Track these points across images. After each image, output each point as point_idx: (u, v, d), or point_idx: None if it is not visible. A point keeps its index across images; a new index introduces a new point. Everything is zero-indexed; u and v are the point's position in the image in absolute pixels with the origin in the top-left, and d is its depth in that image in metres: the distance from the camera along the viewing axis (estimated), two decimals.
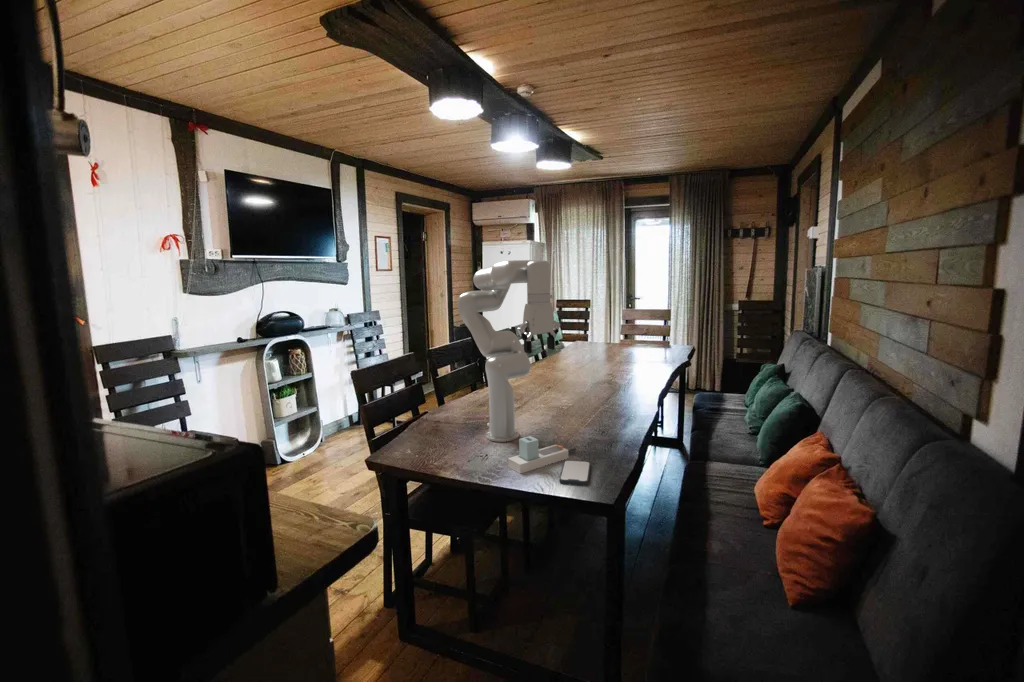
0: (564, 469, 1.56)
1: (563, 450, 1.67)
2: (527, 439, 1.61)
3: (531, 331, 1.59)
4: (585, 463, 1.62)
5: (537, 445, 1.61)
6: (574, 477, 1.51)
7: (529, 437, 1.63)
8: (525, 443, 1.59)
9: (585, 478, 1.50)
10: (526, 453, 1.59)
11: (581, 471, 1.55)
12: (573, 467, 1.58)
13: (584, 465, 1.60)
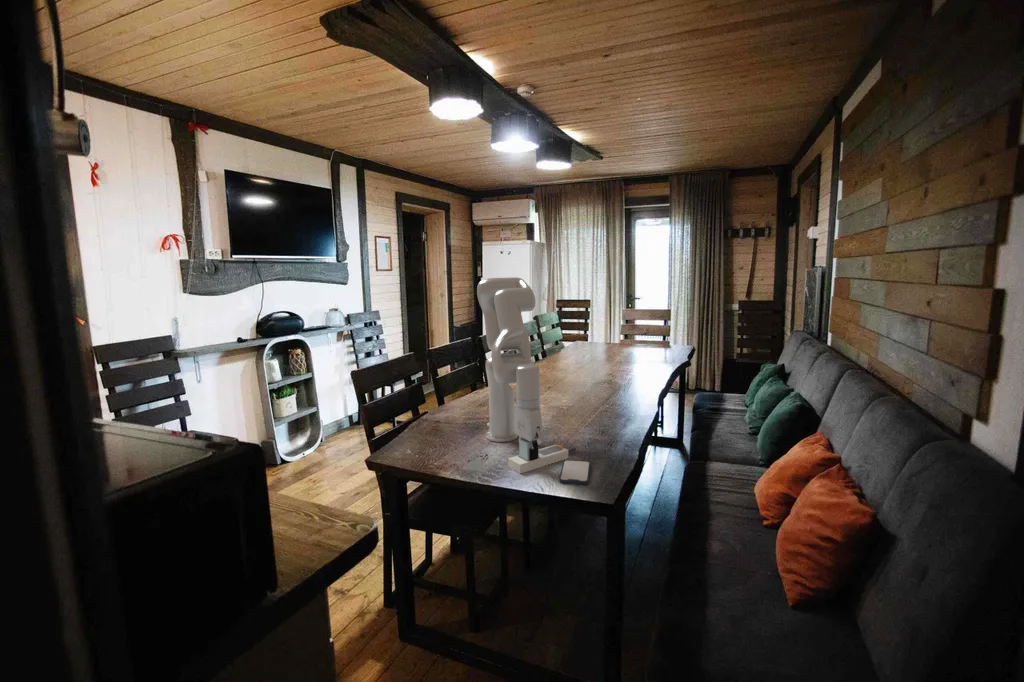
0: (564, 469, 1.57)
1: (563, 450, 1.67)
2: None
3: None
4: (585, 462, 1.62)
5: None
6: (574, 477, 1.51)
7: None
8: (525, 443, 1.59)
9: (585, 478, 1.50)
10: (526, 453, 1.59)
11: (581, 471, 1.56)
12: (573, 467, 1.58)
13: (584, 465, 1.60)
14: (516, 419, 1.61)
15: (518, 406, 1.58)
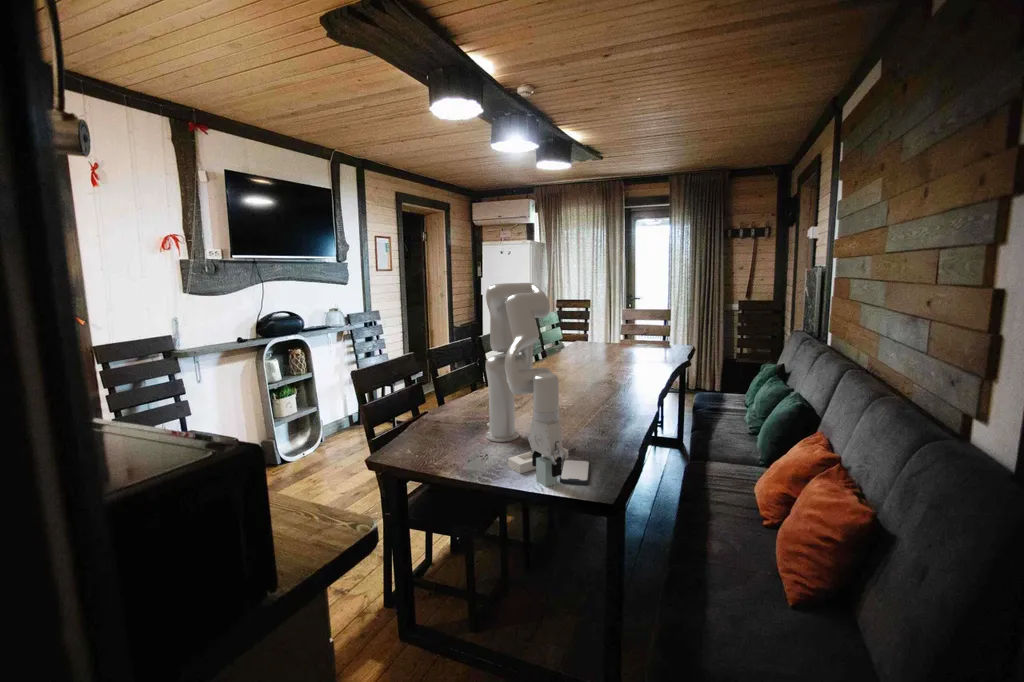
0: (564, 469, 1.57)
1: None
2: (545, 458, 1.49)
3: None
4: (585, 462, 1.62)
5: None
6: (574, 476, 1.51)
7: None
8: (543, 463, 1.47)
9: (585, 477, 1.50)
10: (544, 474, 1.47)
11: (581, 470, 1.56)
12: (573, 466, 1.59)
13: (583, 464, 1.60)
14: (533, 433, 1.49)
15: (535, 419, 1.45)
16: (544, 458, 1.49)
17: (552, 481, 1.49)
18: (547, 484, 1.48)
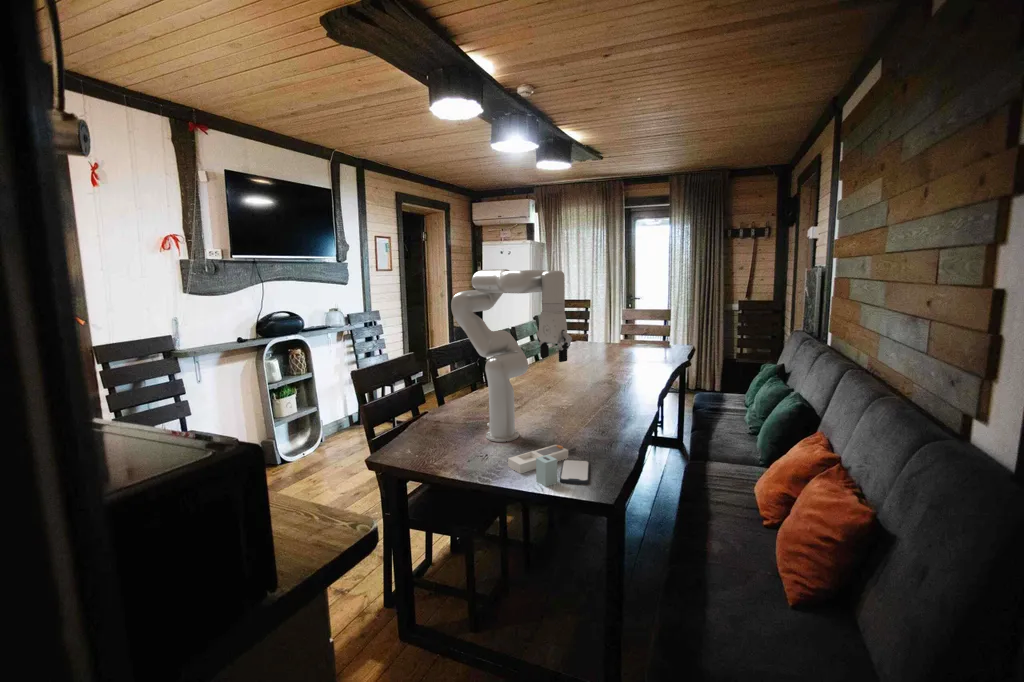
0: (564, 469, 1.57)
1: (563, 450, 1.67)
2: (545, 458, 1.49)
3: None
4: (584, 462, 1.62)
5: (556, 465, 1.49)
6: (574, 476, 1.51)
7: (547, 456, 1.51)
8: (543, 463, 1.47)
9: (585, 477, 1.50)
10: (544, 474, 1.47)
11: (581, 470, 1.56)
12: (572, 466, 1.59)
13: (583, 464, 1.60)
14: (541, 325, 1.66)
15: (544, 310, 1.62)
16: (544, 458, 1.49)
17: (552, 481, 1.49)
18: (547, 484, 1.48)
